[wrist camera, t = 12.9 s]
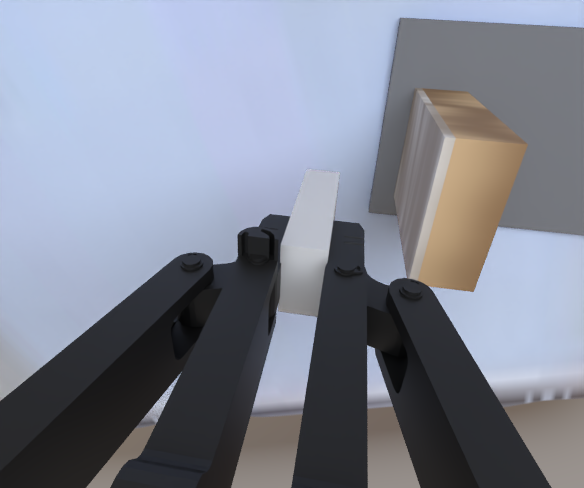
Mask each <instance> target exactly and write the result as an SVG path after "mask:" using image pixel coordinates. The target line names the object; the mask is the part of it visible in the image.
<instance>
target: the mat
mask: <svg viewBox="0 0 584 488" xmlns="http://www.w3.org/2000/svg"><path fill="white" fill-rule="evenodd" d="M415 88H424V89H438V90H452V91H465V92H469V93H470V94H471V95H472V96H473V97H474V98H475V99H477V100H478V101H479V102H480V103H481V104H482V105H483V106H485V107H486V108H487V109H488V110H489V111H490V112H491V113H493V114H494V115H495V116H496V117H497V118H498V119H499V120H501V121H502V122H503V123H504V124H505V125H506V126H508V127H509V128H510V129H511V130H512V131H513V132H514V133H516V134H517V135H518V136H519V137H520V138H521V139H522V140H524V141H525V142H526V143H527V144H528V146H527V149H526V151H525V154H524V157H523V159H522V162H521V165H520V168H519V170H518V173H517V176H516V178H515V181H514V184H513V187H512V189H511V192H510V195H509V197H508V200H507V203H506V205H505V208H504V211H503V214H502V216H501V219H500V222H499V224H498V226H500V227H510V228H519V229H528V230H538V231H547V232H556V233H566V234H575V235H584V28H576V27H558V26H540V25H522V24H504V23H486V22H468V21H450V20H431V19H413V18H400V23H399V29H398V35H397V41H396V47H395V53H394V59H393V65H392V71H391V77H390V83H389V89H388V96H387V102H386V108H385V114H384V120H383V126H382V132H381V138H380V144H379V150H378V156H377V162H376V168H375V175H374V181H373V187H372V193H371V199H370V205H369V212H370V213H379V214H388V215H397V212H396V206H395V200H394V192H395V187H396V182H397V177H398V172H399V167H400V162H401V157H402V152H403V147H404V142H405V137H406V132H407V126H408V121H409V116H410V111H411V106H412V101H413V96H414V91H415Z"/></svg>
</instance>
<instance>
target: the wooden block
mask: <svg viewBox="0 0 584 488" xmlns="http://www.w3.org/2000/svg"><path fill="white" fill-rule="evenodd" d="M527 146H528V144H527V143H526V142H525V141H524V140H522V139H521V138H520V137H519V136H518V135H517V134H516V133H514V132H513V131H512V130H511V129H510V128H509V127H508V126H506V125H505V124H504V123H503V122H502V121H501V120H499V119H498V118H497V117H496V116H495V115H494V114H493V113H491V112H490V111H489V110H488V109H487V108H486V107H485V106H483V105H482V104H481V103H480V102H479V101H478V100H477V99H475V98H474V97H473V96H472V95H471V94H470V93H469V92H465V91H452V90H438V89H424V88H415V91H414V96H413V101H412V106H411V111H410V116H409V121H408V126H407V132H406V137H405V142H404V147H403V152H402V157H401V162H400V167H399V172H398V177H397V182H396V187H395V192H394V200H395V206H396V212H397V219H398V225H399V231H400V237H401V244H402V250H403V256H404V262H405V269H406V275H407V278H408V279H414V280H417V281H420V282H422V283H424V284H425V285H427V286H431V287H439V288H447V289H455V290H463V291H471V292H474V289H475V287H476V284H477V281H478V278H479V276H480V273H481V270H482V268H483V265H484V262H485V260H486V257H487V254H488V251H489V249H490V246H491V243H492V241H493V238H494V235H495V232H496V230H497V227H498V224H499V222H500V219H501V216H502V214H503V211H504V208H505V205H506V203H507V200H508V197H509V195H510V192H511V189H512V187H513V184H514V181H515V178H516V176H517V173H518V170H519V168H520V165H521V162H522V159H523V157H524V154H525V151H526V149H527Z"/></svg>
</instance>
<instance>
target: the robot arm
mask: <svg viewBox="0 0 584 488" xmlns="http://www.w3.org/2000/svg"><path fill="white" fill-rule="evenodd" d="M339 176H340V172H333V171H323V170H313V169H306V172H305V175H304V178H303V181H302V184H301V187H300V190H299V193H298V196H297V199H296V202H295V204H294V207H293V210H292V213H291V216H281V215H272V214H270V215H268V216H267V217H266V218H264V219H263V220H262V221H261V224H260V226H259V227H251V228H247V229H244V230H242V231H241V232H240V233H239V234H238V258H237V260H236V262H232V263H227V264H217V265H213V260H212V259H211V258H210V257H209V256H208V255H205V254H203V253H187V254H183V255H180V256H178V257H177V258H175V259H174V260H172V261H171V262H170V263H169V264H167V265H166V266H165V267H164V268H163V269H161V270H160V271H159V272H158V273H156V274H155V275H154V276H153V277H152V278H150V279H149V280H148V281H147V282H145V283H144V284H143V285H142V286H141V287H139V288H138V289H137V290H136V291H134V292H133V293H132V294H131V295H130V296H128V297H127V298H126V299H125V300H123V301H122V302H121V303H120V304H119V305H117V306H116V307H115V308H114V309H112V310H111V311H110V312H109V313H108V314H106V315H105V316H104V317H103V318H101V319H100V320H99V321H98V322H97V323H95V324H94V325H93V326H92V327H90V328H89V329H88V330H87V331H86V332H84V333H83V334H82V335H81V336H79V337H78V338H77V339H76V340H75V341H73V342H72V343H71V344H70V345H68V346H67V347H66V348H65V349H64V350H62V351H61V352H60V353H59V354H57V355H56V356H55V357H54V358H53V359H51V360H50V361H49V362H48V363H46V364H45V365H44V366H43V367H42V368H40V369H39V370H38V371H37V372H35V373H34V374H33V375H32V376H31V377H29V378H28V379H27V380H26V381H24V382H23V383H22V384H21V385H20V386H18V387H17V388H16V389H15V390H13V391H12V392H11V393H10V394H9V395H7V396H6V397H5V398H4V399H2V400H1V401H0V488H86V487H87V486H88V484H89V483H90V482H91V481H92V480H93V478H94V477H95V476H96V475H97V473H98V472H99V471H100V470H101V468H102V467H103V466H104V465H105V464H106V463H107V461H108V460H109V459H110V458H111V457H112V455H113V454H114V453H115V452H116V450H117V449H118V448H119V447H120V446H121V444H122V443H123V442H124V441H125V439H126V438H127V437H128V436H129V435H130V433H131V432H132V431H133V430H134V429H135V427H136V426H137V425H138V424H139V423H140V421H141V420H142V419H143V418H144V416H145V415H146V414H147V413H148V412H149V410H150V409H151V408H152V407H153V406H154V404H155V403H156V402H157V401H158V400H159V398H160V397H161V396H162V395H163V393H164V392H165V391H166V390H167V389H168V387H169V386H170V385H171V384H172V383H173V381H174V380H175V379H176V378H177V376H178V375H179V374H180V373H181V375H180V377H179V379H178V381H177V383H176V385H175V387H174V389H173V391H172V393H171V395H170V397H169V399H168V401H167V403H166V405H165V407H164V409H163V411H162V413H161V416H160V418H159V420H158V422H157V424H156V426H155V428H154V430H153V432H152V434H151V436H150V438H149V440H148V442H147V444H146V446H145V448H144V451H143V452H142V453H141V455H140V456H139V457H138V458H136V459H132V460H129V461H128V462H127V463H126V464H125V465H124V466H123V467H122V468H121V470H120V471H119V473H118V474H117V476H116V478H115V480H114V481H113V484H112V485H111V487H110V488H231V485H232V481H233V478H234V474H235V470H236V467H237V463H238V460H239V456H240V452H241V448H242V445H243V441H244V437H245V434H246V430H247V426H248V423H249V419H250V415H251V412H252V408H253V404H254V401H255V397H256V393H257V390H258V386H259V382H260V378H261V375H262V371H263V367H264V364H265V360H266V356H267V353H268V349H269V345H270V342H271V338H272V334H273V331H274V327H275V323H276V310H277V306H278V311H280V312H287V313H294V314H301V315H308V316H315V317H317V324H316V330H315V337H314V343H313V350H312V356H311V363H310V370H309V376H308V383H307V389H306V396H305V402H304V409H303V416H302V422H301V429H300V435H299V442H298V449H297V455H296V462H295V469H294V475H293V481H292V487H291V488H368V483H367V482H368V481H367V480H368V479H367V476H368V475H367V345H368V346H371V347H373V348H375V354H376V357H377V360H378V363H379V366H380V369H381V372H382V375H383V378H384V381H385V384H386V387H387V390H388V393H389V396H390V399H391V401H392V404H393V407H394V410H395V413H396V416H397V419H398V422H399V425H400V428H401V431H402V434H403V437H404V440H405V443H406V446H407V448H408V452H409V454H410V458H411V460H412V463H413V466H414V469H415V472H416V475H417V478H418V481H419V484H420V487H421V488H551V486H550V485H549V483H548V481H547V480H546V478H545V476H544V475H543V473H542V471H541V470H540V468H539V467H538V465H537V463H536V462H535V460H534V458H533V457H532V455H531V453H530V452H529V450H528V448H527V447H526V445H525V443H524V442H523V440H522V438H521V437H520V435H519V433H518V432H517V430H516V428H515V427H514V425H513V423H512V422H511V420H510V419H509V417H508V415H507V413H506V412H505V410H504V409H503V407H502V405H501V404H500V402H499V400H498V399H497V397H496V395H495V394H494V392H493V390H492V389H491V387H490V385H489V384H488V382H487V380H486V379H485V377H484V375H483V374H482V372H481V370H480V369H479V367H478V365H477V364H476V362H475V361H474V359H473V357H472V356H471V354H470V352H469V351H468V349H467V347H466V346H465V344H464V342H463V341H462V339H461V337H460V336H459V334H458V332H457V331H456V329H455V327H454V326H453V324H452V322H451V321H450V319H449V317H448V316H447V314H446V312H445V311H444V309H443V308H442V306H441V304H440V303H439V301H438V299H437V298H436V296H435V294H434V293H433V291H432V290H431V289H430V288H429V287H428V286H427V285H425V284H424V283H422V282H420V281H417V280H414V279H408V278H402V279H396V280H394V281H393V282H391V284H390V285H389V286H388V285H385V284H382V283H380V282H378V281H376V280H374V279H372V278H371V277H370V276H369V275H368V274H367V272H366V269H365V267H364V230H363V228H362V227H361V226H360V224H359V223H350V222H341V221H334V219H335V210H336V202H337V193H338V185H339ZM278 303H279V305H278Z"/></svg>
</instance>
